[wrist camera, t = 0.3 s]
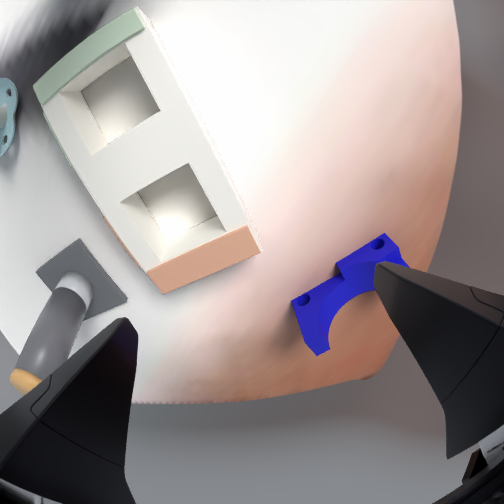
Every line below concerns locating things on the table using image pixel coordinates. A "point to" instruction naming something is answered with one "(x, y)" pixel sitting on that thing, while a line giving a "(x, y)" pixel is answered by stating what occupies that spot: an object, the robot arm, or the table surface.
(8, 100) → the pacifier
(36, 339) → the plug
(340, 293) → the cable clip
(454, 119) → the table surface
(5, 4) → the table surface
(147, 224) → the socket panel
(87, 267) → the mat
